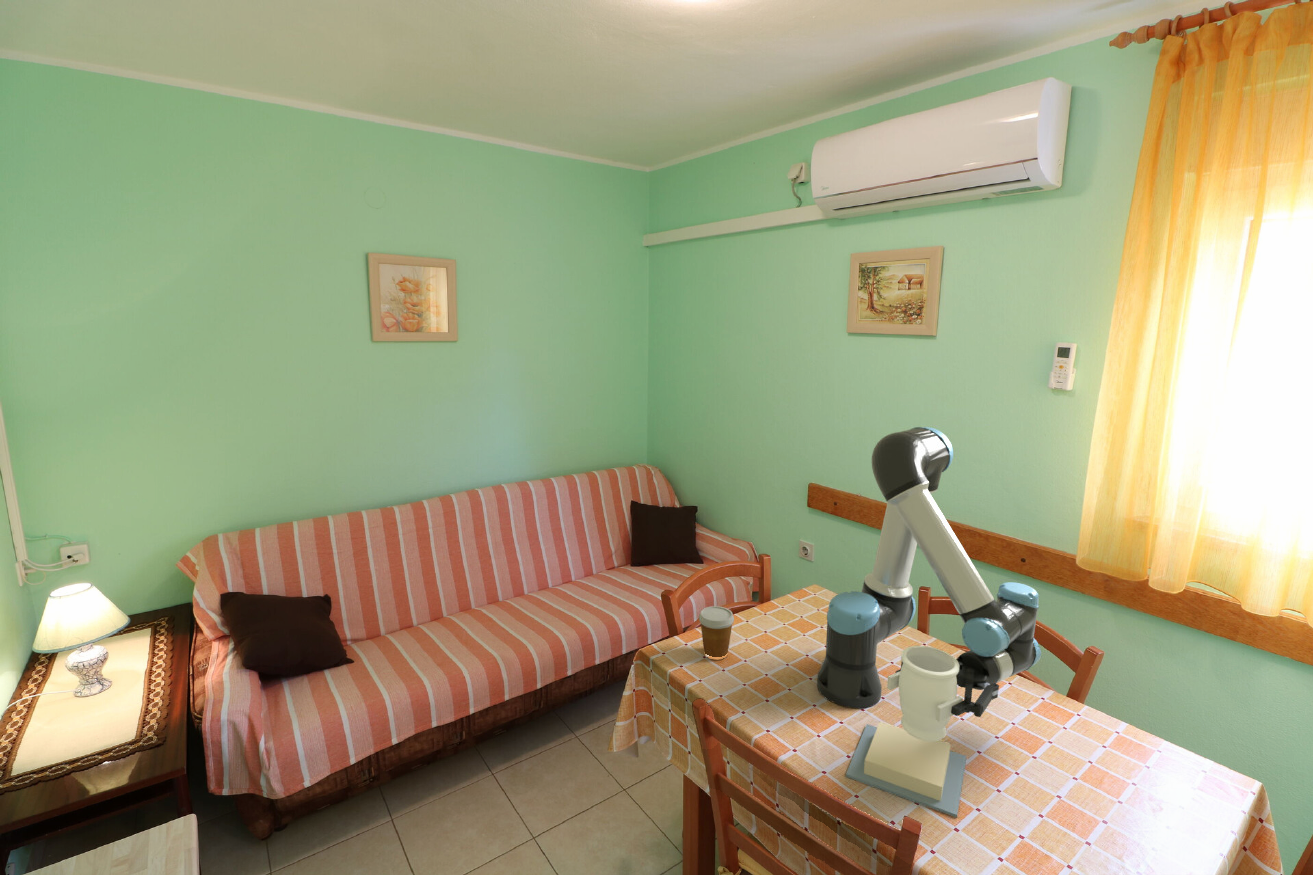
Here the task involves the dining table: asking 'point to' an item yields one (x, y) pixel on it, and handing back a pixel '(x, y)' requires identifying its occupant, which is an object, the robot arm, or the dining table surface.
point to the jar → (926, 690)
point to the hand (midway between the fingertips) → (912, 697)
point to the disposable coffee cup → (716, 630)
